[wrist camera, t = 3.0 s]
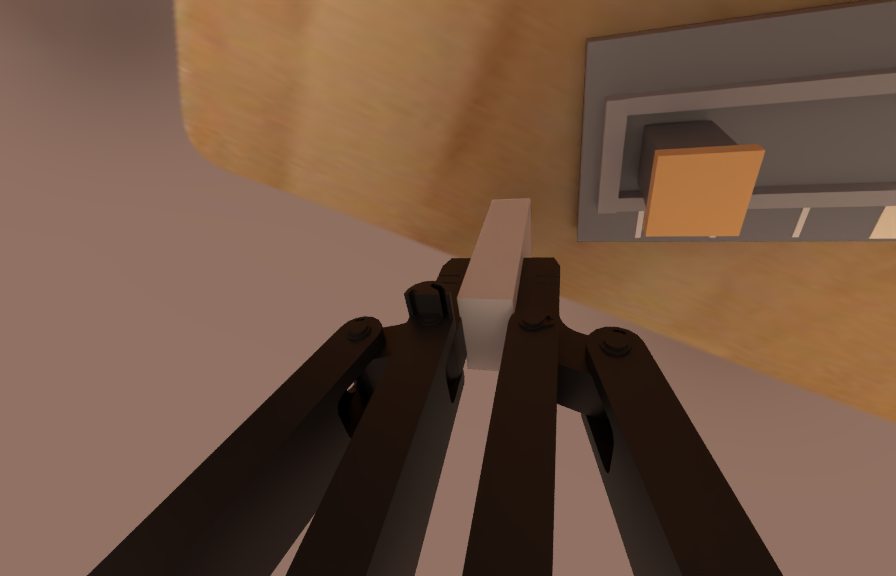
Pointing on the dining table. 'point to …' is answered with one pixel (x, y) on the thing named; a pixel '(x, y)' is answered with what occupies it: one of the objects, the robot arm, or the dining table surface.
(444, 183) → the dining table surface
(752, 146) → the fader tab
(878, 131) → the console board
